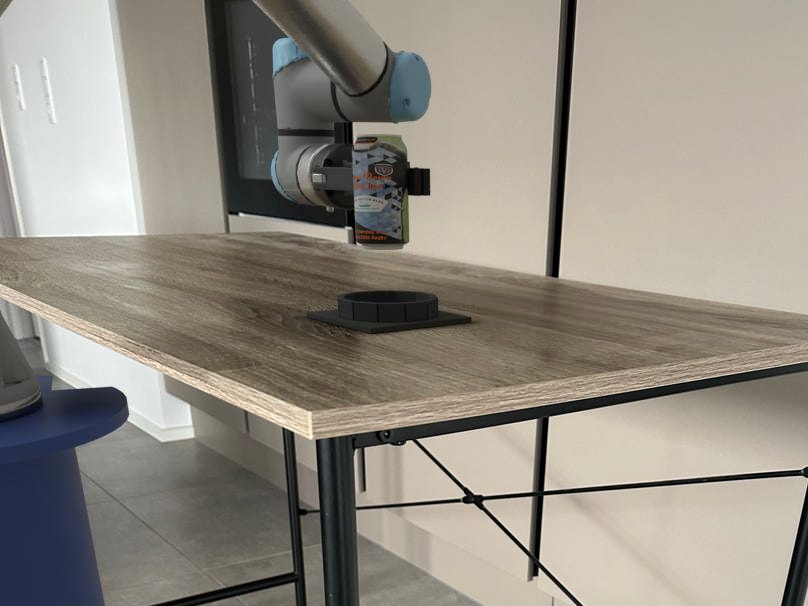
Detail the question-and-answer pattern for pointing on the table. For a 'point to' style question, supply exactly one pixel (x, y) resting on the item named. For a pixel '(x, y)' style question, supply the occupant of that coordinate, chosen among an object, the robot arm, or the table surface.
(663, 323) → the table surface
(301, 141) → the robot arm
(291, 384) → the table surface
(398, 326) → the holder pad
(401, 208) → the beverage can
